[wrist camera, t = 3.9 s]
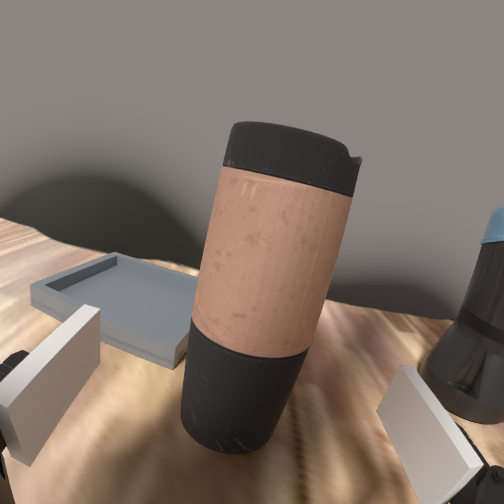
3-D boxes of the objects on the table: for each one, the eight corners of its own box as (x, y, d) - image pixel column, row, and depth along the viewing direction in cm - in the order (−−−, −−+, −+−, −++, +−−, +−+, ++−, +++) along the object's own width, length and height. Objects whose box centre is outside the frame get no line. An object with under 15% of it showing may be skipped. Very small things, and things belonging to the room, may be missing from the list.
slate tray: (223, 302, 43) (226, 285, 43) (172, 369, 26) (175, 346, 25) (113, 267, 46) (114, 251, 45) (31, 305, 28) (30, 284, 28)
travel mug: (179, 383, 25) (227, 131, 20) (267, 393, 26) (334, 159, 21) (173, 450, 17) (235, 111, 13) (284, 458, 18) (389, 157, 14)
